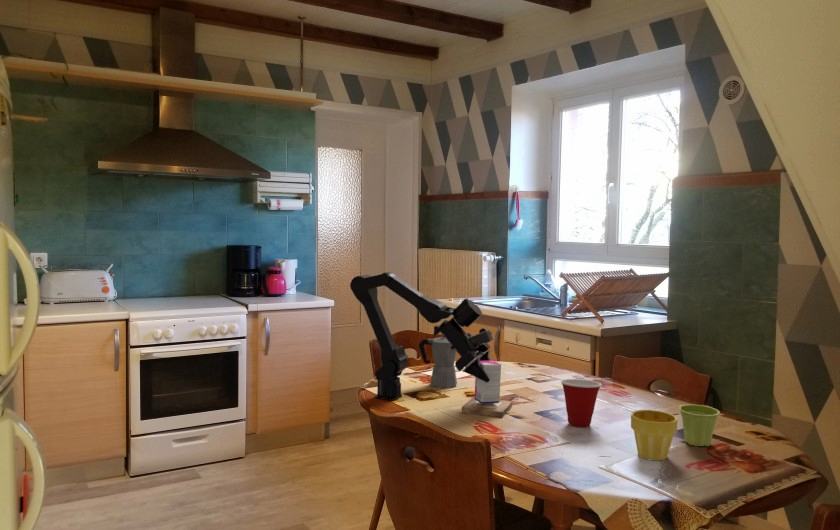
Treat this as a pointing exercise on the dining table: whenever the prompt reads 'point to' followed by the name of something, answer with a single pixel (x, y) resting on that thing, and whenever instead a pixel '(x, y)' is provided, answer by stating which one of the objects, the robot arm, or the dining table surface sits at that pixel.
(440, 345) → the coffeepot
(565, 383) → the plastic cup
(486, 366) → the supplement box
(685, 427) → the plant pot
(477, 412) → the base board
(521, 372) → the dining table surface
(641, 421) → the plant pot
